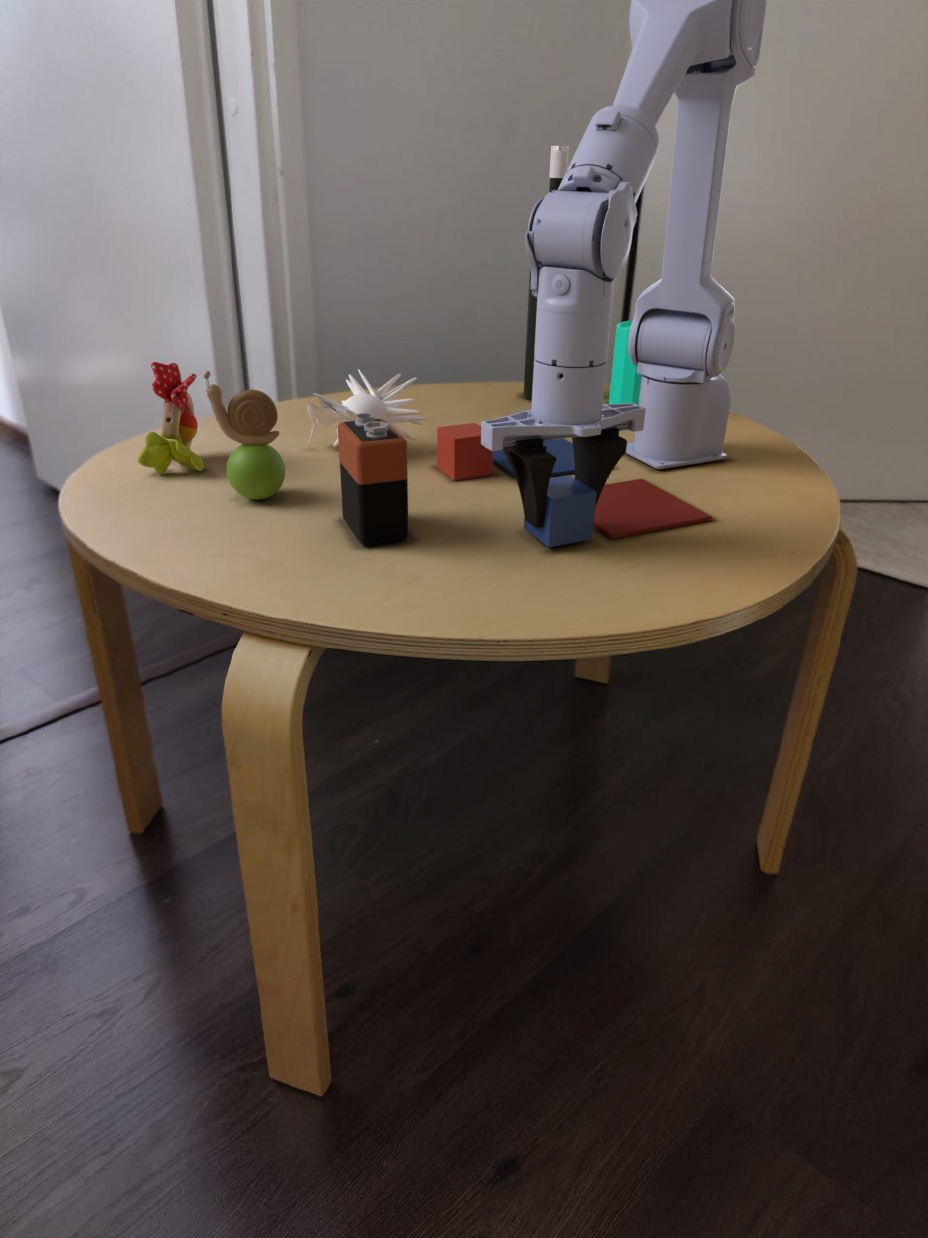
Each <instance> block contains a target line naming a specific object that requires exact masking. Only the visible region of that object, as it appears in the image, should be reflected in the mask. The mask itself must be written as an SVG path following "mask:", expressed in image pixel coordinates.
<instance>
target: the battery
mask: <svg viewBox="0 0 928 1238" xmlns="http://www.w3.org/2000/svg"><path fill="white" fill-rule="evenodd" d="M337 428H338V436H337V438H338V440H339V445H338V456H339V474H340V475H339V476H340V490H341V491H340V493H341V509H342V519H343V520H344V522H345V523H346V525H347V526H348V528H349V529H350V530H351V531H352V533H353V535H354V536H355V537H356V539H357V540H358V542H359V543H360V545H362V546H364V547H366V546H373V545H374V546H375V545H381V544H382V545H383V544H388V543H395V542H402V541H406V540H408V538H409V488H408V486H409V485H408V483H409V481H408V479H409V477H408V442H407V439H406V438H405V437H402V436H401V435H400V434H399V433H398V432H397V431H396V430H395V429H394V428H392V427H391V426H390V425H389V424H388V423H387V422H386V421H385V420H383V419H374V415H373V414H370V413H361V414H357V415H356V421H348V422H341V423H340V422H339V423H338V425H337Z"/></svg>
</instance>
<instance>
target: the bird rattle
mask: <svg viewBox="0 0 928 1238" xmlns="http://www.w3.org/2000/svg"><path fill="white" fill-rule="evenodd" d="M150 368H151V370H152V373H153V376H154V381H153V382H152V383H151V388H152V390H153V392H154V394H155V395H156V396H157V397H159V398H160V399H163V413H162V421H161V432H160V434H158V433H157V432H155V431H149V432H148V433H147V434H146V435H145V441H144V443H145V446H144V448H143V449H142V450H141V452H140V453H139V456H138V458H137V462H138V464H139V465H140V466H142V467H144V468H145V467H146V468H152V469H154V471H155V472H156V473H157V474H158V475H163V474H164V473H166V472H167V471H168V468H169V467H170V465H171V464H172V461H174V462H176V463H177V464H179V465H182V466H184V467H186V468H188V469H191V470H193V471H199V472H200V471H203V470H204V466H205V464H204V459H202V457H201V456H199V454H197V453H195V452H194V451H193V450H192V449H191V446H192V443H193V439H194V438H195V437H196V435H197V433H198V426H199V424H198V423H199V422H198V420H197V418H196V416H195V407H194V401H193V399H192V396H191V394H190V392H188V389H189V387H190V386H191V385H193V383H194V382H195V380H196V379H197V375H196V373H191V374H190V375H188V377H186V379H185V380H183V381H182V373H181V371H180V368H179V365H178V364H177V363H176V362H171V363H169V364H166V363H161V362H158V361H153V362H152V363H151V364H150Z"/></svg>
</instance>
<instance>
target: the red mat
mask: <svg viewBox="0 0 928 1238" xmlns="http://www.w3.org/2000/svg"><path fill="white" fill-rule="evenodd" d="M712 518H713V516H712V515H710V514H709V513H707V512H705V511H703V510H701V509H700V508H697V507H695V506H693V505H692V504H690V503H688V502H686V501H685V500H682V499H681V498H678V497H677V496H675V495H673V494H671V493H669V492H668V491H666V490H664V489H662V488H660V487H658V486H657V485H655V484H653V483H651V482H649V481H647V480H645V479H644V478H637V479H632V480H626V481H619V482H613V483H605V485H604V487H603V490H602V492H601V494H600V497H599V500H598V502H597V505H596V508H595V514H594V525H593V528H595V529H596V530H598V531H600V532H601V533H602V534H604V535H606V536H607V537H608V538H610V539H611V540H615V539H619V538H625V537H629V536H635V535H640V534H647V533H651V532H656V531H661V530H667V529H673V528H677V527H683V526H687V525H693V524H698V523H703V522H708V521H712Z"/></svg>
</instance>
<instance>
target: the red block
mask: <svg viewBox="0 0 928 1238" xmlns="http://www.w3.org/2000/svg"><path fill="white" fill-rule="evenodd" d="M492 461H493V451H491V450H489V449H487V448H486V447H484V446H483V445H482V444H481V425H479V424H478V423H476V422H470V423H468V422H467V423H461V424H452V425H445V426H437V427H436V468H437V469H438V470H440V471H441V472H442V473H444V474H445V475H446V476H447V477H449V478H450V479H451V480H453V481H460V480H467V479H474V478H475V479H476V478H481V477H488V476H493V463H492Z"/></svg>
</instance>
